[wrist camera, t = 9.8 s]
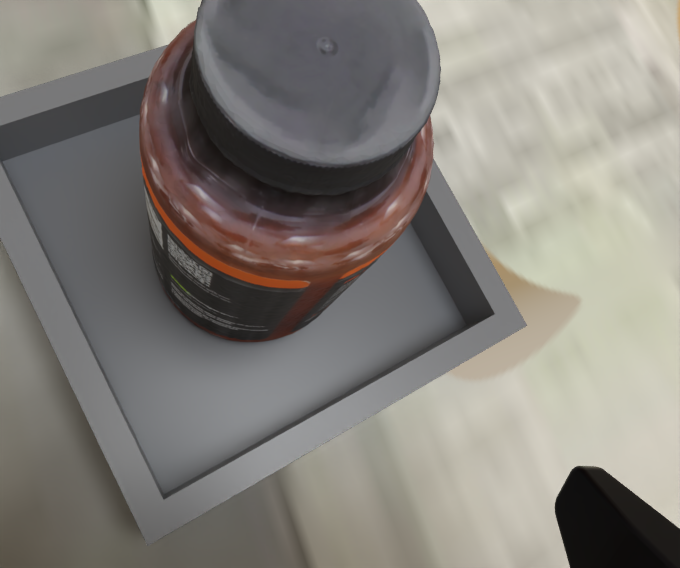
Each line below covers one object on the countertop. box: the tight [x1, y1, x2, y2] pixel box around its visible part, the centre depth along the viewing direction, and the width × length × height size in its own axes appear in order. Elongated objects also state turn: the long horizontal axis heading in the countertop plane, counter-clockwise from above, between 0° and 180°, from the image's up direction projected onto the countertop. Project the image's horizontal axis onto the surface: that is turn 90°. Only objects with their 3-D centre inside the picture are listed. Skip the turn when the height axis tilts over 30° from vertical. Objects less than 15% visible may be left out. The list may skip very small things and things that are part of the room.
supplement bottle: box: [139, 0, 441, 342], centre depth 15 cm, size 6×6×11 cm
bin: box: [0, 45, 527, 546], centre depth 20 cm, size 13×13×3 cm
